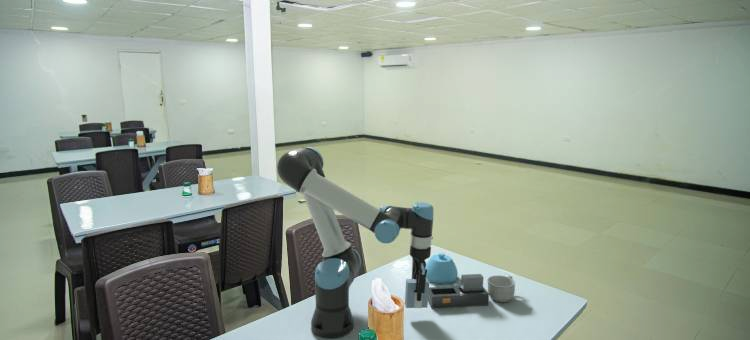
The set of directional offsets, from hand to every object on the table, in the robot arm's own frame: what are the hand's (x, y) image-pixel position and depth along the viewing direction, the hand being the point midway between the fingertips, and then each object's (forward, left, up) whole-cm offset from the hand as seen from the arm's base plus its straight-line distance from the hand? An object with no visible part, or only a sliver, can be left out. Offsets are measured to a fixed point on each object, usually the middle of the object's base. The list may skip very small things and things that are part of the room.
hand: (416, 304), depth 153 cm
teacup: (+39, +11, -5) cm, 40 cm away
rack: (+19, +9, -5) cm, 21 cm away
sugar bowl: (+18, +31, -5) cm, 36 cm away
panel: (0, 0, 0) cm, 0 cm away
